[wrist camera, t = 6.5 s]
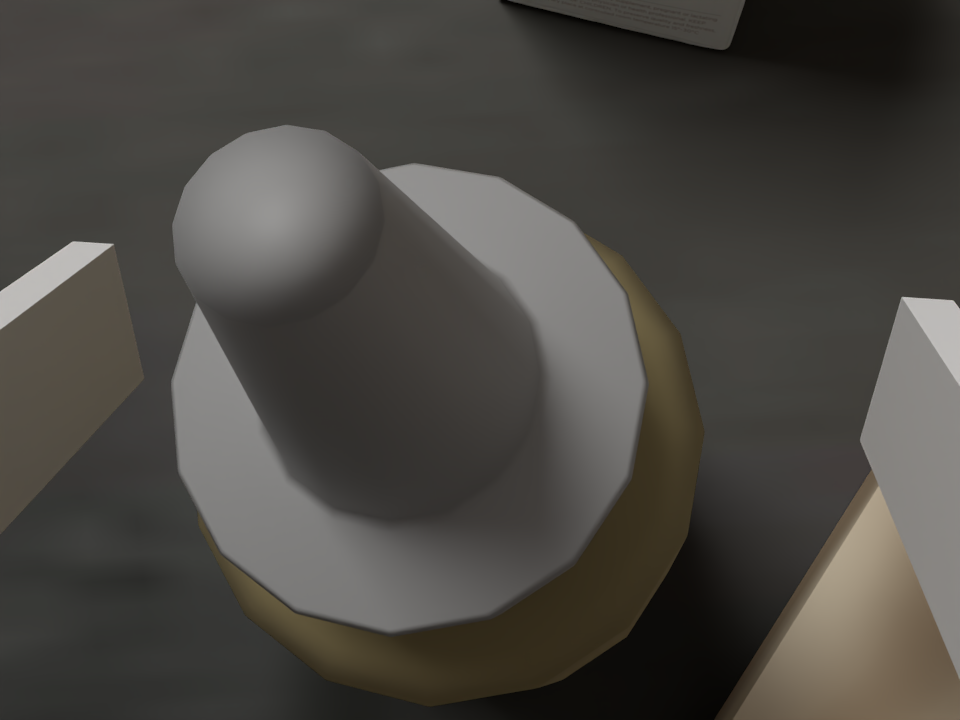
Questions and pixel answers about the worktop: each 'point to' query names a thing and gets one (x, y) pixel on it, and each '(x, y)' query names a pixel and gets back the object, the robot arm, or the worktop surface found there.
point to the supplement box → (658, 17)
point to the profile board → (852, 635)
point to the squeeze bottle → (424, 419)
